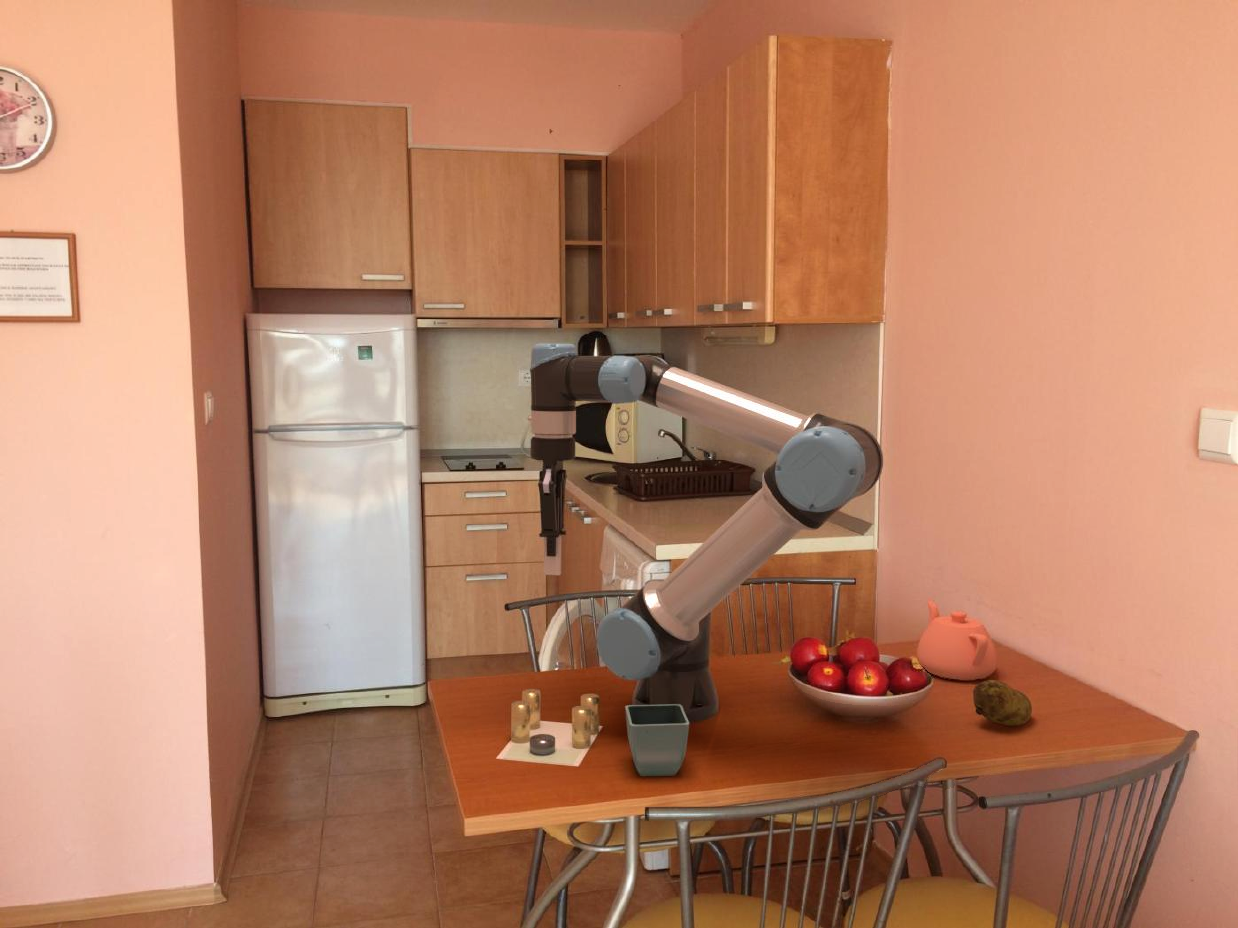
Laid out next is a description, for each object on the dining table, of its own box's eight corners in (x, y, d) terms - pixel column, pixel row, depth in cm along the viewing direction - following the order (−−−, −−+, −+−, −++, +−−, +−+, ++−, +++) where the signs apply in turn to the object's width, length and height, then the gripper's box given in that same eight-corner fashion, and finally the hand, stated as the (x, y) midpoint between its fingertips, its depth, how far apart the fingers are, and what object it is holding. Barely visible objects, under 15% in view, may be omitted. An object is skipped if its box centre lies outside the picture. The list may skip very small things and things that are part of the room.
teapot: (893, 657, 215) (895, 599, 214) (959, 653, 218) (962, 596, 217) (947, 691, 194) (950, 627, 192) (1019, 687, 197) (1023, 624, 195)
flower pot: (623, 760, 159) (624, 704, 158) (680, 759, 160) (681, 703, 159) (629, 784, 150) (630, 724, 149) (688, 782, 151) (690, 723, 150)
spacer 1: (532, 737, 167) (532, 701, 166) (526, 744, 164) (526, 707, 163) (514, 735, 167) (515, 699, 167) (508, 742, 164) (508, 705, 164)
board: (602, 728, 172) (602, 725, 172) (578, 769, 156) (578, 765, 155) (527, 722, 175) (527, 719, 175) (495, 761, 158) (495, 757, 158)
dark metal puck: (559, 748, 162) (559, 736, 162) (548, 757, 158) (548, 745, 158) (536, 744, 164) (536, 732, 163) (525, 753, 160) (525, 740, 160)
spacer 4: (592, 742, 165) (592, 706, 164) (588, 749, 162) (588, 712, 161) (574, 741, 165) (574, 704, 165) (569, 748, 162) (569, 711, 162)
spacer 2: (542, 724, 173) (542, 689, 172) (537, 730, 170) (537, 695, 169) (525, 722, 173) (525, 688, 172) (519, 729, 170) (519, 693, 170)
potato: (1051, 728, 175) (1054, 682, 174) (988, 736, 171) (991, 690, 170) (1017, 712, 183) (1020, 668, 182) (956, 719, 179) (959, 675, 178)
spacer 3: (600, 729, 171) (600, 694, 170) (596, 735, 168) (596, 700, 167) (582, 727, 171) (583, 692, 170) (578, 734, 168) (578, 698, 168)
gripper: (538, 432, 180) (538, 565, 182) (522, 438, 167) (522, 581, 169) (581, 433, 179) (580, 566, 181) (568, 439, 166) (567, 583, 168)
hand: (552, 573), depth 175 cm, fingers closed
